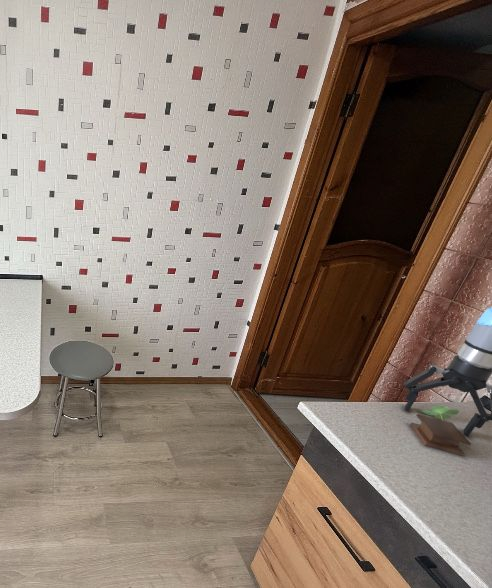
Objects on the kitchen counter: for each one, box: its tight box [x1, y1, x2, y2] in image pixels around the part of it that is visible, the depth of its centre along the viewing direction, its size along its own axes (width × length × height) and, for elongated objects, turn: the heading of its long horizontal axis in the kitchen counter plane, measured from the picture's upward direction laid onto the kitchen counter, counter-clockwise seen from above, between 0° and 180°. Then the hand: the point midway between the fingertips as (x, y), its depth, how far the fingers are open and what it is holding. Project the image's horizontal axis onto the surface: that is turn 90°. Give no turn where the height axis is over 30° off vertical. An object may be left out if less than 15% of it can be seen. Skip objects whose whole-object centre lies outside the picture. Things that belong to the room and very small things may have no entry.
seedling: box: [420, 405, 460, 420], centre depth 97 cm, size 7×8×7 cm
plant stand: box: [409, 413, 472, 457], centre depth 91 cm, size 8×8×4 cm
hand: (434, 420), depth 99 cm, fingers open, 12 cm apart
